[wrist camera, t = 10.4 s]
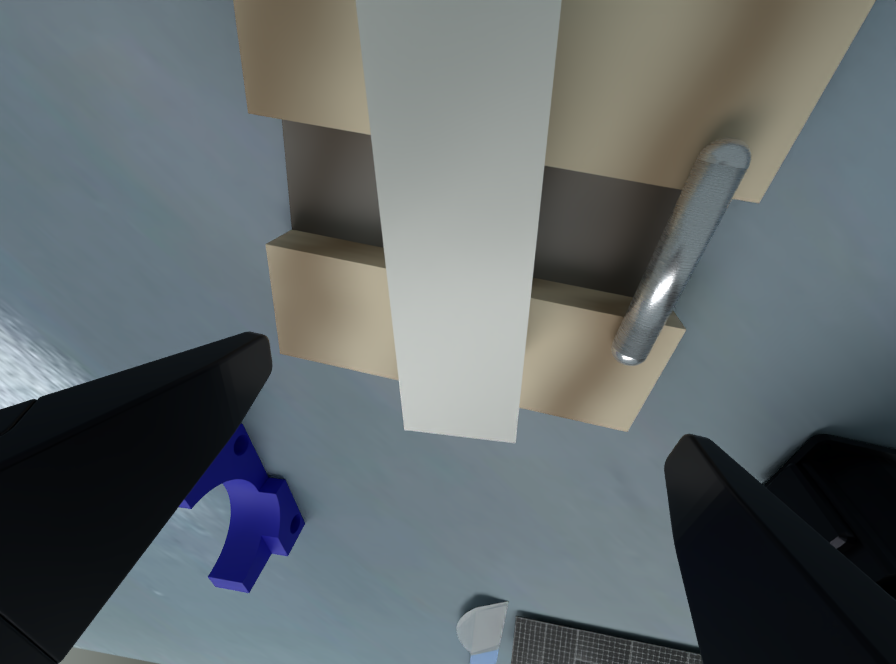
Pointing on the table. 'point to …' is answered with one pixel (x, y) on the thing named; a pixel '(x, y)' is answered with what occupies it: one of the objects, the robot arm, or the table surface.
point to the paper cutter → (556, 643)
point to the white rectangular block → (459, 196)
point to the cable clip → (248, 513)
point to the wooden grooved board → (551, 177)
